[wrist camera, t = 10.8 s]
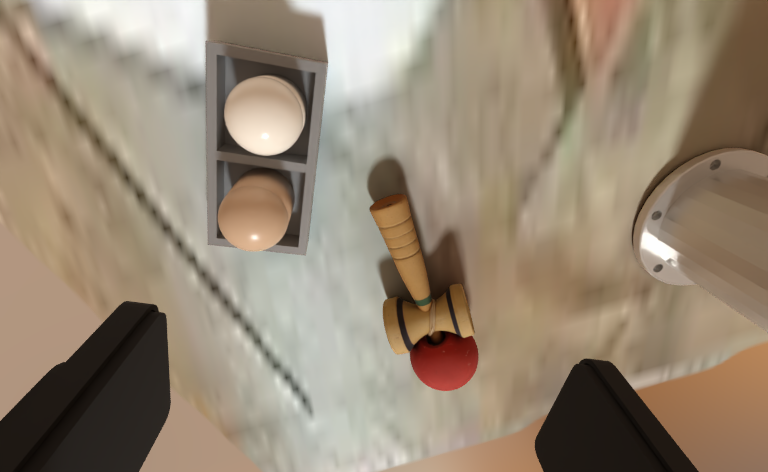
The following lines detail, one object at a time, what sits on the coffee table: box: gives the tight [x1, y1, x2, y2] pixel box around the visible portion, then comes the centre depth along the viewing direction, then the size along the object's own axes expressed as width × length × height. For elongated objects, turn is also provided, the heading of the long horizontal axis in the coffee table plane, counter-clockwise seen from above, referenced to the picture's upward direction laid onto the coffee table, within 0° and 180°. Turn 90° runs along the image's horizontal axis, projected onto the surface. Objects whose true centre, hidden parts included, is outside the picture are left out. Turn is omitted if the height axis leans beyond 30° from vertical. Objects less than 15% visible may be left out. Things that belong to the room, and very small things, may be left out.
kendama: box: [370, 194, 478, 391], centre depth 33 cm, size 8×6×18 cm
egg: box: [224, 74, 308, 156], centre depth 24 cm, size 4×4×6 cm
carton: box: [206, 41, 328, 255], centre depth 25 cm, size 7×13×7 cm, turn 170°
